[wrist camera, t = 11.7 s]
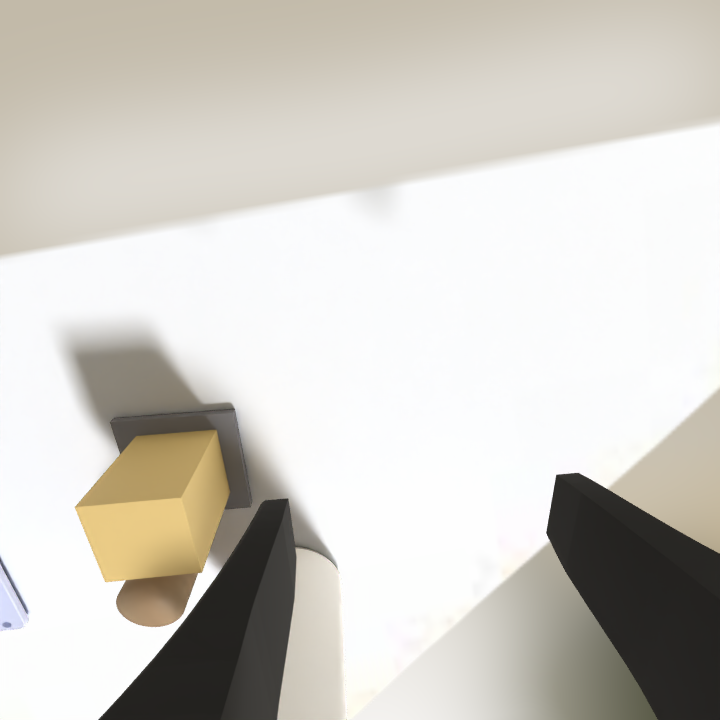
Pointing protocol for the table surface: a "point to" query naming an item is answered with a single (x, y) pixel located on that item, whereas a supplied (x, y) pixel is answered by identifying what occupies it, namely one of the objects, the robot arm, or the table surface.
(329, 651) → the can
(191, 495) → the ochre block
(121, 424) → the coaster
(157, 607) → the cork cylinder
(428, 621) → the table surface
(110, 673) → the table surface
